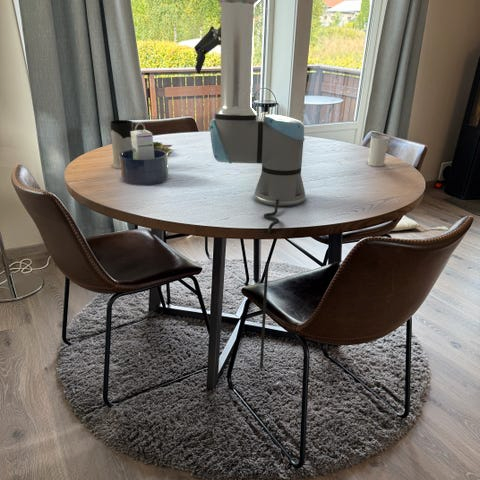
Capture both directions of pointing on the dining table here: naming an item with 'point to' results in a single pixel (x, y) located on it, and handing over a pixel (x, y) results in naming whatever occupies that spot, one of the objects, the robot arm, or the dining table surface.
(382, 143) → the cream cylindrical container
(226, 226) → the dining table surface
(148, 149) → the syrup box
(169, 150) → the salad plate
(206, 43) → the robot arm
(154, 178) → the pot
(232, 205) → the dining table surface
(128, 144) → the white black mug
